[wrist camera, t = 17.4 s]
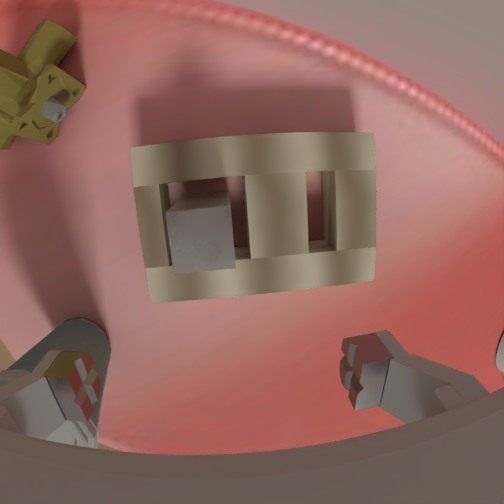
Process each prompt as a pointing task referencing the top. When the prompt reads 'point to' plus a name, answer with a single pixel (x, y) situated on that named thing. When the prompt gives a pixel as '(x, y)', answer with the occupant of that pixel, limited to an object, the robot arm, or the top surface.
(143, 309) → the top surface
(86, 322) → the disposable coffee cup
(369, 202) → the tan flat slatted block
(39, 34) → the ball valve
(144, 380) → the top surface
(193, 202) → the square bit
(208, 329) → the top surface
